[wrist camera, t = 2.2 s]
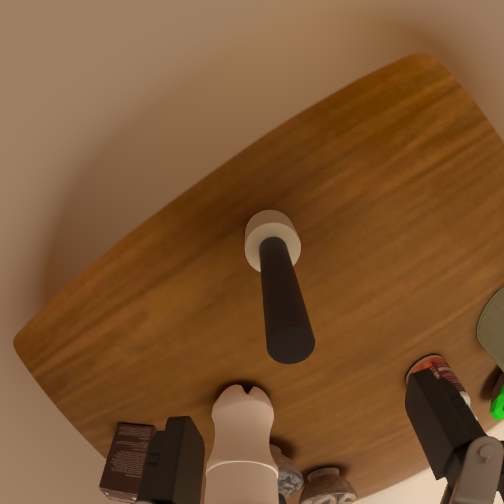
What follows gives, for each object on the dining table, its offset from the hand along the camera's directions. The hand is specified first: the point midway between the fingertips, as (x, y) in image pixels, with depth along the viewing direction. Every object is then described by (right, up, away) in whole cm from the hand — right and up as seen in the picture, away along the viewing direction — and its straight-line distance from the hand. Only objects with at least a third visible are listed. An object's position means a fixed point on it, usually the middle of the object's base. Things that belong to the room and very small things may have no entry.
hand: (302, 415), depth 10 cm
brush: (0, +7, +19) cm, 20 cm away
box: (-18, -21, +30) cm, 41 cm away
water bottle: (-3, -12, +27) cm, 29 cm away
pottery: (+5, -28, +33) cm, 44 cm away
